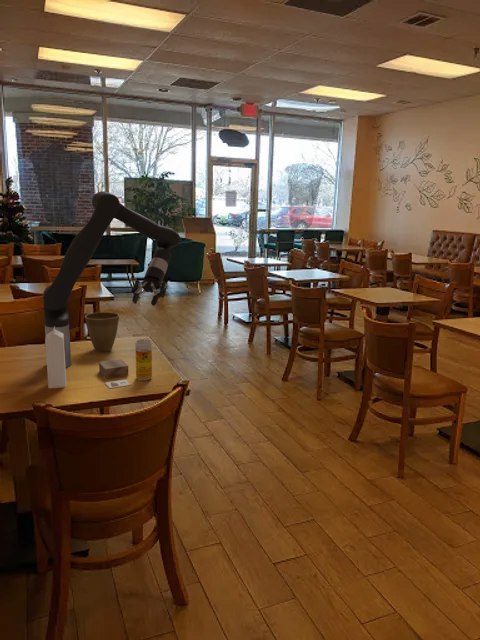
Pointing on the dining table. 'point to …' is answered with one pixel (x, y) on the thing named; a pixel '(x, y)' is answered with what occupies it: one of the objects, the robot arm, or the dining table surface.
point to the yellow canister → (143, 359)
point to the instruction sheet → (117, 384)
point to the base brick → (113, 368)
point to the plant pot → (102, 329)
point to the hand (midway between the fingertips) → (143, 303)
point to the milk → (55, 359)
